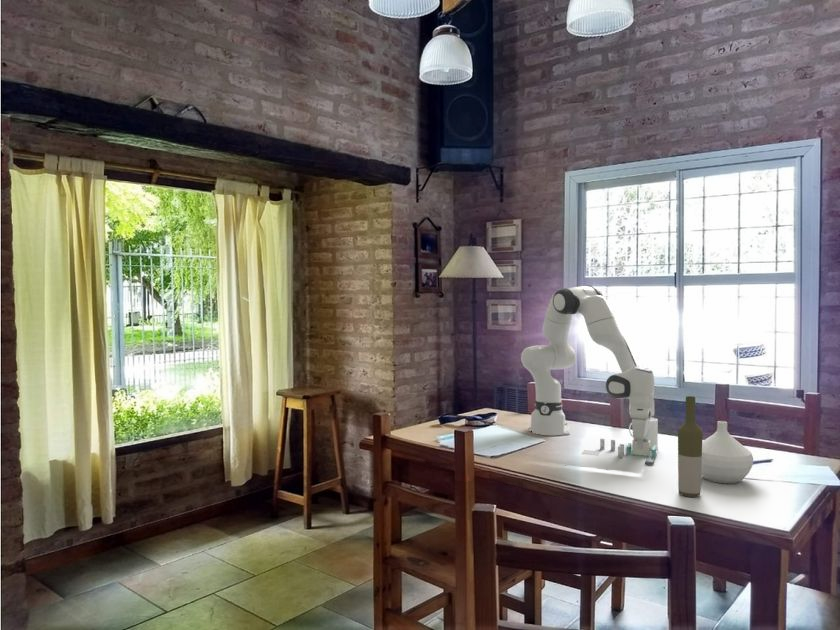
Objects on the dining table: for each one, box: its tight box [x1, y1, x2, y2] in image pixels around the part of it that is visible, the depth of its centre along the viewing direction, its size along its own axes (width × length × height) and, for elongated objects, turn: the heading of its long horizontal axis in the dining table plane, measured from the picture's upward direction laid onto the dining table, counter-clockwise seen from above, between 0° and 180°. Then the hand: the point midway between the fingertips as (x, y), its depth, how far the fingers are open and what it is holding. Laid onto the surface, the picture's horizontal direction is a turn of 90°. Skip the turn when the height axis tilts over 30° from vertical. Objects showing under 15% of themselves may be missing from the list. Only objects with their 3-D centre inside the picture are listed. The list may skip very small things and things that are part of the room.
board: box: [581, 438, 658, 466], centre depth 234 cm, size 15×26×5 cm, turn 65°
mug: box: [628, 416, 659, 452], centre depth 247 cm, size 12×8×12 cm
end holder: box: [625, 442, 657, 458], centre depth 233 cm, size 7×10×3 cm
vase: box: [701, 420, 754, 484], centre depth 204 cm, size 18×18×19 cm
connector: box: [631, 438, 651, 456], centre depth 232 cm, size 4×6×5 cm, turn 65°
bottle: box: [677, 396, 704, 498], centre depth 188 cm, size 7×7×30 cm
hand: (641, 446), depth 233 cm, fingers open, 6 cm apart
